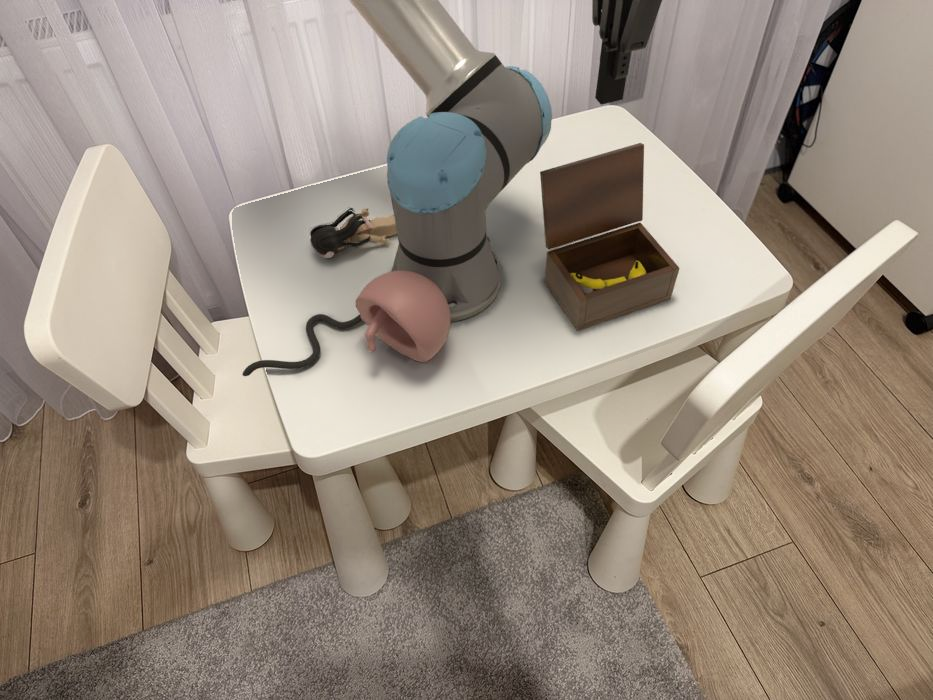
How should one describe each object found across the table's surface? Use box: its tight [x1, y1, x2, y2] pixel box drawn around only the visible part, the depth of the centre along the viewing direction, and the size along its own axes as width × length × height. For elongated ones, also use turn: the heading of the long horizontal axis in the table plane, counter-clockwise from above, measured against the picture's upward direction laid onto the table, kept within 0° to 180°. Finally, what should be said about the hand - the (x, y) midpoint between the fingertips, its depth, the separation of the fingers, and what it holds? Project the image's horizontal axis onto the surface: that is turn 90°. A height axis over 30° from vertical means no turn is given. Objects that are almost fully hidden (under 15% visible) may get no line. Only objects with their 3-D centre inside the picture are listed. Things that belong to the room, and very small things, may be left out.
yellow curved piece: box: [570, 261, 646, 295], centre depth 91 cm, size 10×6×4 cm, turn 103°
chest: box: [544, 222, 680, 332], centre depth 91 cm, size 10×14×6 cm
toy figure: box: [309, 206, 398, 259], centre depth 100 cm, size 7×6×15 cm
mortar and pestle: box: [354, 270, 451, 363], centre depth 84 cm, size 12×12×12 cm
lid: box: [539, 142, 645, 251], centre depth 88 cm, size 11×14×1 cm
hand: (608, 98), depth 77 cm, fingers closed
